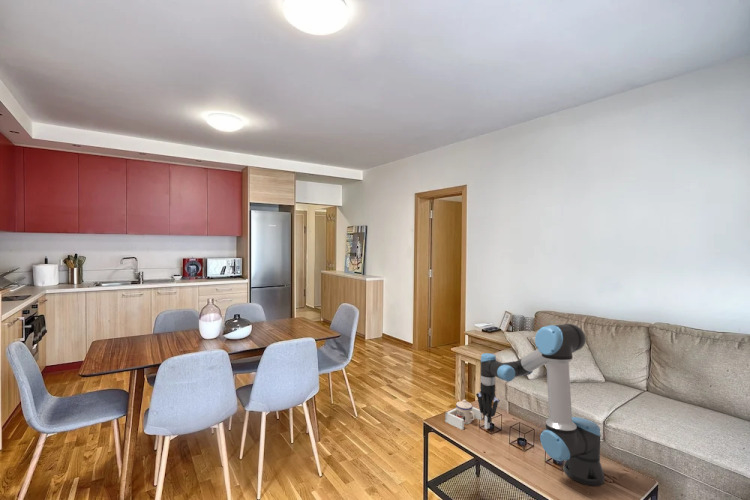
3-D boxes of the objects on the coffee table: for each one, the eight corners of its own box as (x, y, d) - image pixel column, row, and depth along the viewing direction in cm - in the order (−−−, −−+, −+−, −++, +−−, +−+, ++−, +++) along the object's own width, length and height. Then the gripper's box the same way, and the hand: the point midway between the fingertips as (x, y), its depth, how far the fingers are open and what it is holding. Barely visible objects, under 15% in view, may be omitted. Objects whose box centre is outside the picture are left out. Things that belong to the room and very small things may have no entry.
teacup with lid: (452, 419, 202) (452, 398, 202) (463, 415, 207) (463, 395, 207) (468, 428, 192) (469, 406, 192) (479, 424, 197) (480, 403, 197)
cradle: (482, 419, 203) (482, 410, 203) (462, 429, 190) (462, 420, 190) (465, 412, 211) (465, 403, 211) (444, 421, 199) (445, 412, 199)
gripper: (502, 385, 187) (502, 430, 187) (481, 378, 197) (480, 421, 197) (495, 388, 182) (494, 435, 182) (473, 381, 192) (472, 425, 192)
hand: (487, 427), depth 190 cm, fingers closed
